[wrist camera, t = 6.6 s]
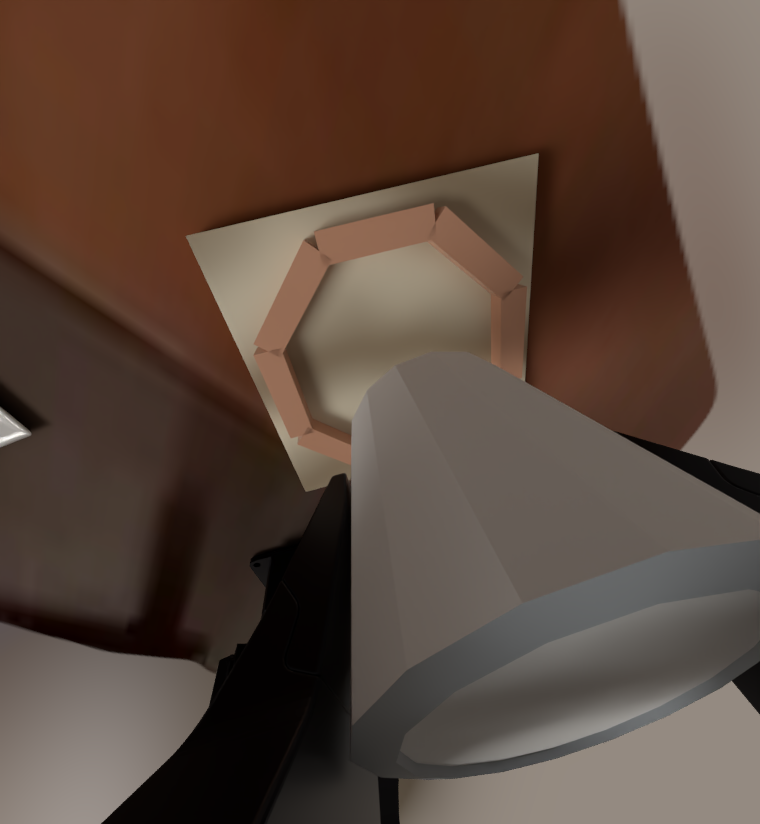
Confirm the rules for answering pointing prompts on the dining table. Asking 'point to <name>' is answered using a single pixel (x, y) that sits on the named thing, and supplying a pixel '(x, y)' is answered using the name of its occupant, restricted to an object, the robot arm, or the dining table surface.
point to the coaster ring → (364, 241)
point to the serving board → (370, 292)
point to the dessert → (11, 429)
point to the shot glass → (527, 577)
